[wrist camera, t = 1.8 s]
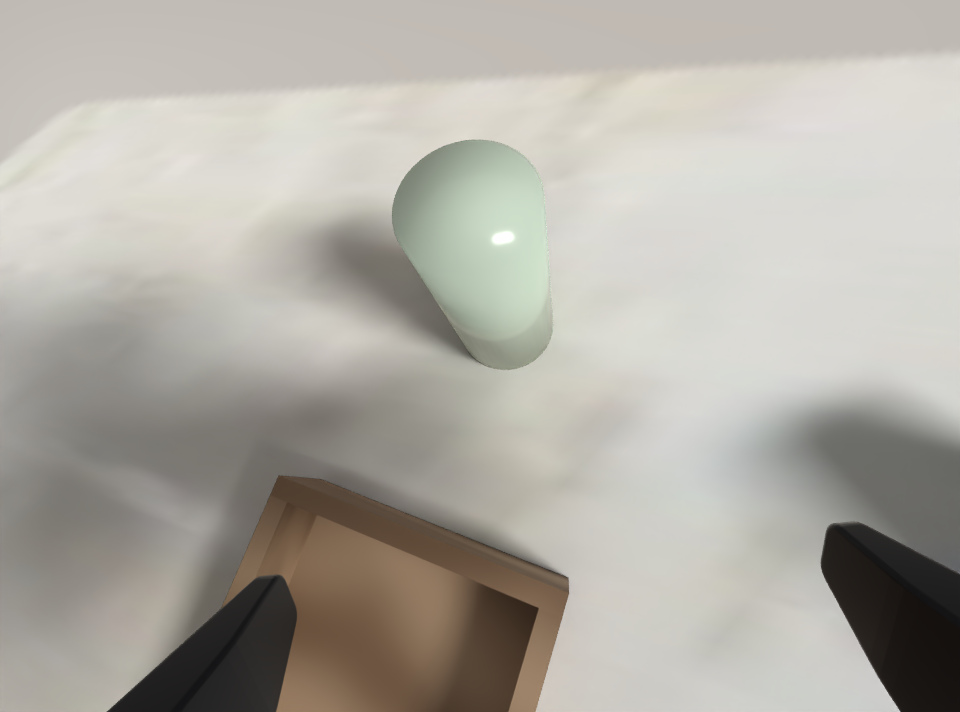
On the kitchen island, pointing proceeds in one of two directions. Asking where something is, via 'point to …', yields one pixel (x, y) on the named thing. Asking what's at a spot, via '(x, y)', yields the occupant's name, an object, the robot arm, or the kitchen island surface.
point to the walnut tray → (400, 608)
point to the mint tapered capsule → (481, 247)
